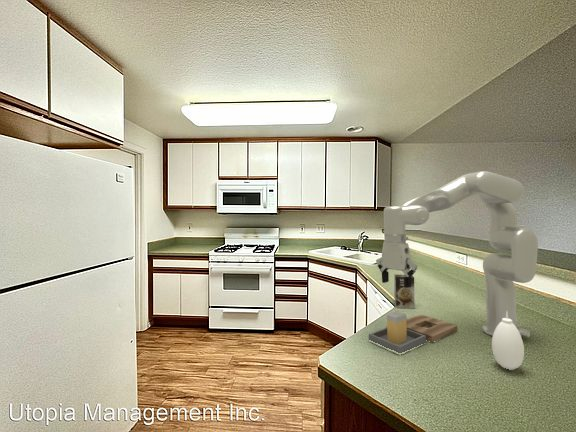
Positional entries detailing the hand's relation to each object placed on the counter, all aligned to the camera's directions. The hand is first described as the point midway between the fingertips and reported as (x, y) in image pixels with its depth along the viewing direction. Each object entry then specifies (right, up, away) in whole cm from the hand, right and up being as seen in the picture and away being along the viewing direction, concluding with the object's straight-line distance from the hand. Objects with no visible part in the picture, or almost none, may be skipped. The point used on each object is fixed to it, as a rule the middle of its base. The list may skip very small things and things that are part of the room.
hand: (396, 284), depth 109 cm
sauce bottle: (+28, -22, -19) cm, 40 cm away
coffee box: (+20, -21, +41) cm, 50 cm away
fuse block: (0, -21, 0) cm, 21 cm away
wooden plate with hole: (+16, -22, +11) cm, 29 cm away
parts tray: (0, -22, 0) cm, 22 cm away
